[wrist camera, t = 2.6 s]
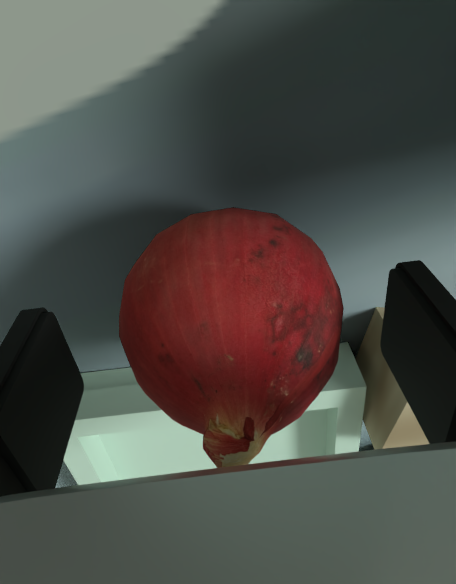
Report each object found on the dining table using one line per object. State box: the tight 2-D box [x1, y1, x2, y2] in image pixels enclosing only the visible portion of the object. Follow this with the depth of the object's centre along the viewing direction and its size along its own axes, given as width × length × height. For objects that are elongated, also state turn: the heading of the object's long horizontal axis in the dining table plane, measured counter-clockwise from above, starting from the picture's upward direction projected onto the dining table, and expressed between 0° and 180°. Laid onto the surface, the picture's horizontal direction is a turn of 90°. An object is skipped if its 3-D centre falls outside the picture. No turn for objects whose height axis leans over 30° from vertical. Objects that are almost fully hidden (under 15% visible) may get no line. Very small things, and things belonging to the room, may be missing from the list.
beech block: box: [355, 307, 430, 450], centre depth 16 cm, size 4×6×4 cm, turn 84°
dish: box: [63, 342, 367, 485], centre depth 20 cm, size 12×12×2 cm
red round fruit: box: [119, 207, 344, 468], centre depth 11 cm, size 6×6×8 cm
